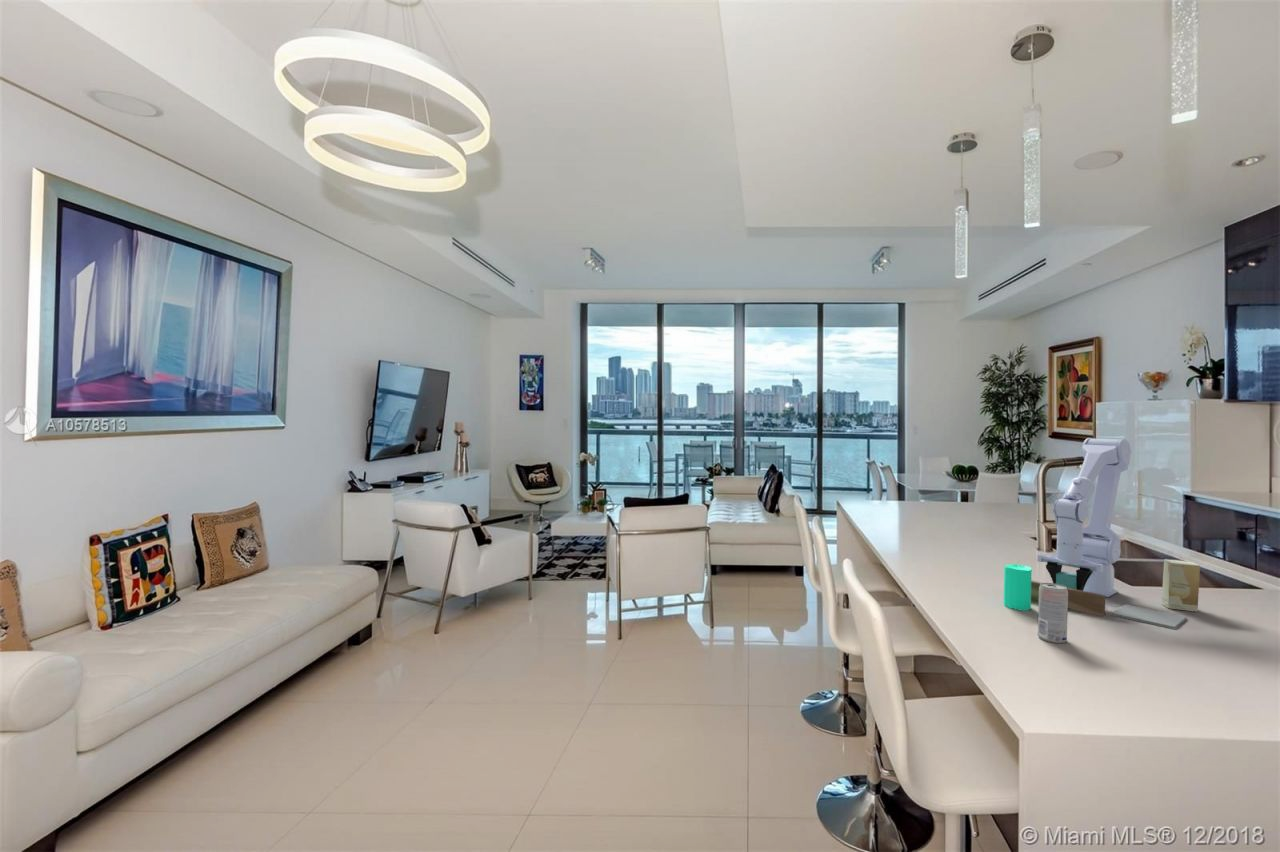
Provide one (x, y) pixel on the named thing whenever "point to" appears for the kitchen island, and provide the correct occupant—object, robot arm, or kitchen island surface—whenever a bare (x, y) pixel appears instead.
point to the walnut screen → (1077, 600)
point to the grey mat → (1149, 616)
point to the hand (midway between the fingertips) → (1068, 592)
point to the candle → (1017, 586)
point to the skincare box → (1180, 585)
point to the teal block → (1067, 579)
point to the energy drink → (1053, 612)
